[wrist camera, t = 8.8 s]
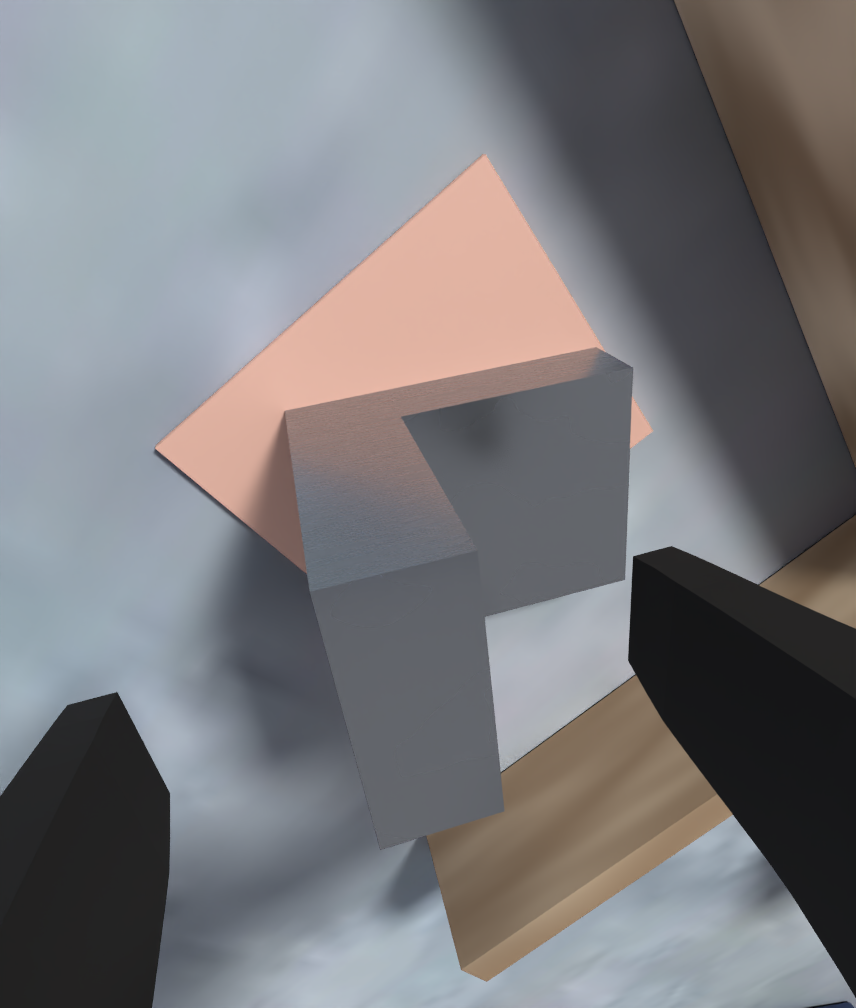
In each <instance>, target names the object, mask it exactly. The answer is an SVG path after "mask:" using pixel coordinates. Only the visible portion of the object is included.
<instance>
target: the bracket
mask: <svg viewBox="0 0 856 1008" xmlns="http://www.w3.org/2000/svg"><path fill="white" fill-rule="evenodd" d="M632 381H633V367H631V366H629V365H627V364H626V363H624V362H622V361H620V360H618V359H617V358H615V357H613V356H611V355H609V354H608V353H606V352H604V351H602V350H601V349H599V348H597V347H594V348H589V349H584V350H580V351H575V352H570V353H565V354H560V355H555V356H550V357H545V358H540V359H536V360H531V361H526V362H521V363H516V364H511V365H506V366H501V367H496V368H492V369H487V370H482V371H477V372H472V373H467V374H462V375H457V376H452V377H447V378H443V379H438V380H433V381H428V382H423V383H418V384H413V385H408V386H403V387H399V388H394V389H389V390H384V391H379V392H374V393H369V394H364V395H359V396H355V397H350V398H345V399H340V400H335V401H330V402H325V403H320V404H315V405H310V406H306V407H301V408H296V409H291V410H286V411H285V417H286V424H287V431H288V439H289V446H290V453H291V461H292V468H293V475H294V482H295V490H296V497H297V504H298V512H299V519H300V526H301V533H302V541H303V548H304V555H305V563H306V570H307V577H308V584H309V592H310V595H311V599H312V603H313V606H314V610H315V614H316V617H317V621H318V624H319V628H320V632H321V635H322V639H323V643H324V646H325V650H326V654H327V657H328V661H329V664H330V668H331V672H332V675H333V679H334V683H335V686H336V690H337V694H338V697H339V701H340V704H341V708H342V712H343V715H344V719H345V723H346V726H347V730H348V734H349V737H350V741H351V744H352V748H353V752H354V755H355V759H356V763H357V766H358V770H359V774H360V777H361V781H362V784H363V788H364V792H365V795H366V799H367V803H368V806H369V810H370V814H371V817H372V821H373V824H374V828H375V832H376V835H377V839H378V843H379V846H380V850H382V849H385V848H388V847H391V846H395V845H398V844H401V843H404V842H407V841H411V840H414V839H417V838H420V837H424V836H427V835H430V834H433V833H436V832H440V831H443V830H446V829H449V828H452V827H456V826H459V825H462V824H465V823H469V822H472V821H475V820H478V819H481V818H485V817H488V816H491V815H494V814H497V813H501V812H504V811H505V810H504V801H503V791H502V782H501V772H500V762H499V753H498V743H497V733H496V724H495V714H494V704H493V695H492V685H491V676H490V666H489V656H488V647H487V637H486V627H485V618H484V617H485V616H489V615H493V614H497V613H500V612H504V611H508V610H512V609H516V608H519V607H523V606H527V605H531V604H535V603H538V602H542V601H546V600H550V599H554V598H557V597H561V596H565V595H569V594H573V593H576V592H580V591H584V590H588V589H592V588H595V587H599V586H603V585H607V584H611V583H614V582H618V581H622V580H625V566H626V539H627V513H628V487H629V460H630V434H631V407H632Z"/></svg>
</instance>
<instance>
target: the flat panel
mask: <svg viewBox="0 0 856 1008" xmlns="http://www.w3.org/2000/svg"><path fill="white" fill-rule="evenodd" d="M594 347H597V348H599V349H601V350H602V351H604V349H603V347H602V346H601V344H600V342H599V341H598V339H597V337H596V336H595V334H594V332H593V331H592V329H591V327H590V326H589V324H588V322H587V321H586V319H585V318H584V316H583V314H582V313H581V311H580V309H579V308H578V306H577V304H576V303H575V301H574V299H573V298H572V296H571V294H570V293H569V291H568V289H567V288H566V286H565V285H564V283H563V281H562V280H561V278H560V276H559V275H558V273H557V271H556V270H555V268H554V266H553V265H552V263H551V261H550V260H549V258H548V256H547V255H546V253H545V252H544V250H543V248H542V247H541V245H540V243H539V242H538V240H537V238H536V237H535V235H534V233H533V232H532V230H531V228H530V227H529V225H528V223H527V222H526V220H525V219H524V217H523V215H522V214H521V212H520V210H519V209H518V207H517V205H516V204H515V202H514V200H513V199H512V197H511V195H510V194H509V192H508V190H507V189H506V187H505V186H504V184H503V182H502V181H501V179H500V177H499V176H498V174H497V172H496V171H495V169H494V167H493V166H492V164H491V162H490V161H489V159H488V157H487V156H486V154H483V155H481V156H480V157H479V158H478V159H477V160H476V161H475V162H474V163H472V164H471V165H470V166H469V167H468V168H467V169H466V170H465V171H463V172H462V173H461V174H460V175H459V176H458V177H457V178H456V179H455V180H453V181H452V182H451V183H450V184H449V185H448V186H447V187H446V188H444V189H443V190H442V191H441V192H440V193H439V194H438V195H437V196H435V197H434V198H433V199H432V200H431V201H430V202H429V203H428V204H426V205H425V206H424V207H423V208H422V209H421V210H420V211H419V212H417V213H416V214H415V215H414V216H413V217H412V218H411V219H410V220H408V221H407V222H406V223H405V224H404V225H403V226H402V227H401V228H399V229H398V230H397V231H396V232H395V233H394V234H393V235H392V236H390V237H389V238H388V239H387V240H386V241H385V242H384V243H383V244H381V245H380V246H379V247H378V248H377V249H376V250H375V251H374V252H372V253H371V254H370V255H369V256H368V257H367V258H366V259H365V260H363V261H362V262H361V263H360V264H359V265H358V266H357V267H356V268H354V269H353V270H352V271H351V272H350V273H349V274H348V275H347V276H345V277H344V278H343V279H342V280H341V281H340V282H339V283H338V284H336V285H335V286H334V287H333V288H332V289H331V290H330V291H329V292H327V293H326V294H325V295H324V296H323V297H322V298H321V299H320V300H318V301H317V302H316V303H315V304H314V305H313V306H312V307H311V308H310V309H308V310H307V311H306V312H305V313H304V314H303V315H302V316H301V317H299V318H298V319H297V320H296V321H295V322H294V323H293V324H292V325H290V326H289V327H288V328H287V329H286V330H285V331H284V332H283V333H281V334H280V335H279V336H278V337H277V338H276V339H275V340H274V341H272V342H271V343H270V344H269V345H268V346H267V347H266V348H265V349H263V350H262V351H261V352H260V353H259V354H258V355H257V356H256V357H254V358H253V359H252V360H251V361H250V362H249V363H248V364H247V365H245V366H244V367H243V368H242V369H241V370H240V371H239V372H238V373H236V374H235V375H234V376H233V377H232V378H231V379H230V380H229V381H227V382H226V383H225V384H224V385H223V386H222V387H221V388H220V389H218V390H217V391H216V392H215V393H214V394H213V395H212V396H211V397H209V398H208V399H207V400H206V401H205V402H204V403H203V404H202V405H200V406H199V407H198V408H197V409H196V410H195V411H194V412H193V413H191V414H190V415H189V416H188V417H187V418H186V419H185V420H184V421H182V422H181V423H180V424H179V425H178V426H177V427H176V428H175V429H173V430H172V431H171V432H170V433H169V434H168V435H167V436H166V437H165V438H163V439H162V440H161V441H160V442H159V443H158V444H157V445H156V447H155V449H156V450H158V451H159V452H160V453H161V454H162V455H164V456H165V457H166V458H167V459H168V460H170V461H171V462H172V463H173V464H174V465H176V466H177V467H178V468H179V469H180V470H182V471H183V472H184V473H185V474H186V475H188V476H189V477H190V478H191V479H193V480H194V481H195V482H196V483H197V484H199V485H200V486H201V487H202V488H203V489H205V490H206V491H207V492H208V493H209V494H211V495H212V496H213V497H214V498H215V499H217V500H218V501H219V502H220V503H221V504H223V505H224V506H225V507H226V508H227V509H229V510H230V511H231V512H232V513H234V514H235V515H236V516H237V517H238V518H240V519H241V520H242V521H243V522H244V523H246V524H247V525H248V526H249V527H250V528H252V529H253V530H254V531H255V532H256V533H258V534H259V535H260V536H261V537H262V538H264V539H265V540H266V541H267V542H268V543H270V544H271V545H272V546H273V547H275V548H276V549H277V550H278V551H279V552H281V553H282V554H283V555H284V556H285V557H287V558H288V559H289V560H290V561H291V562H293V563H294V564H295V565H296V566H297V567H299V568H300V569H301V570H302V571H303V572H305V573H306V574H307V570H306V563H305V555H304V548H303V541H302V533H301V526H300V519H299V512H298V504H297V497H296V490H295V482H294V475H293V468H292V461H291V453H290V446H289V439H288V431H287V424H286V417H285V411H286V410H291V409H296V408H301V407H306V406H310V405H315V404H320V403H325V402H330V401H335V400H340V399H345V398H350V397H355V396H359V395H364V394H369V393H374V392H379V391H384V390H389V389H394V388H399V387H403V386H408V385H413V384H418V383H423V382H428V381H433V380H438V379H443V378H447V377H452V376H457V375H462V374H467V373H472V372H477V371H482V370H487V369H492V368H496V367H501V366H506V365H511V364H516V363H521V362H526V361H531V360H536V359H540V358H545V357H550V356H555V355H560V354H565V353H570V352H575V351H580V350H584V349H589V348H594ZM604 352H605V351H604ZM652 431H653V430H652V428H651V426H650V425H649V423H648V421H647V420H646V418H645V417H644V415H643V413H642V412H641V410H640V408H639V407H638V405H637V403H636V402H635V400H634V398H633V397H632V407H631V434H630V449H631V448H632V447H633V446H635V445H636V444H637V443H638V442H640V441H641V440H642V439H643V438H645V437H646V436H647V435H649V434H650V433H651V432H652Z"/></svg>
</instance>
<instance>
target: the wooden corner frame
mask: <svg viewBox="0 0 856 1008" xmlns="http://www.w3.org/2000/svg"><path fill="white" fill-rule="evenodd" d="M674 2H675V4H676V7H677V9H678V12H679V14H680V17H681V20H682V22H683V25H684V27H685V30H686V32H687V35H688V38H689V40H690V43H691V45H692V48H693V50H694V53H695V56H696V58H697V61H698V63H699V66H700V68H701V71H702V74H703V76H704V79H705V81H706V84H707V86H708V89H709V92H710V94H711V97H712V99H713V102H714V104H715V107H716V110H717V112H718V115H719V117H720V120H721V122H722V125H723V128H724V130H725V133H726V135H727V138H728V140H729V143H730V146H731V148H732V151H733V153H734V156H735V158H736V161H737V164H738V166H739V169H740V171H741V174H742V176H743V179H744V182H745V184H746V187H747V189H748V192H749V194H750V197H751V200H752V202H753V205H754V207H755V210H756V212H757V215H758V218H759V220H760V223H761V225H762V228H763V230H764V233H765V236H766V238H767V241H768V243H769V246H770V248H771V251H772V254H773V256H774V259H775V261H776V264H777V267H778V269H779V272H780V274H781V277H782V279H783V282H784V285H785V287H786V290H787V292H788V295H789V297H790V300H791V303H792V305H793V308H794V310H795V313H796V315H797V318H798V321H799V323H800V326H801V328H802V331H803V333H804V336H805V339H806V341H807V344H808V346H809V349H810V351H811V354H812V357H813V359H814V362H815V364H816V367H817V369H818V372H819V375H820V377H821V380H822V382H823V385H824V387H825V390H826V393H827V395H828V398H829V400H830V403H831V405H832V408H833V411H834V413H835V416H836V418H837V421H838V423H839V426H840V429H841V431H842V434H843V436H844V439H845V441H846V444H847V447H848V449H849V452H850V454H851V457H852V459H853V462H854V465H855V467H856V0H674ZM759 586H761V587H764V588H766V589H768V590H770V591H772V592H774V593H777V594H779V595H781V596H783V597H785V598H787V599H790V600H792V601H794V602H796V603H798V604H801V605H803V606H805V607H807V608H810V609H812V610H814V611H816V612H819V613H821V614H823V615H825V616H828V617H830V618H832V619H834V620H837V621H839V622H841V623H844V624H846V625H848V626H851V627H853V628H855V629H856V515H855V516H853V517H852V518H851V519H849V520H848V521H847V522H845V523H844V524H842V525H841V526H840V527H838V528H837V529H836V530H834V531H833V532H831V533H830V534H829V535H827V536H826V537H825V538H823V539H822V540H820V541H819V542H818V543H816V544H815V545H814V546H812V547H811V548H809V549H808V550H807V551H805V552H804V553H803V554H801V555H800V556H799V557H797V558H796V559H794V560H793V561H792V562H790V563H789V564H788V565H786V566H785V567H783V568H782V569H781V570H779V571H778V572H777V573H775V574H774V575H772V576H771V577H770V578H768V579H767V580H766V581H764V582H763V583H761V584H760V585H759ZM501 782H502V791H503V801H504V810H505V811H504V812H501V813H497V814H494V815H491V816H488V817H485V818H481V819H478V820H475V821H472V822H469V823H465V824H462V825H459V826H456V827H452V828H449V829H446V830H443V831H440V832H436V833H433V834H430V835H427V840H428V844H429V848H430V852H431V856H432V860H433V863H434V867H435V871H436V875H437V879H438V883H439V887H440V890H441V894H442V898H443V902H444V906H445V910H446V914H447V917H448V921H449V925H450V929H451V933H452V937H453V941H454V944H455V948H456V952H457V956H458V960H459V964H460V967H461V970H462V971H465V972H467V973H469V974H471V975H473V976H476V977H478V978H480V979H482V980H484V981H486V982H487V981H489V980H490V979H491V978H493V977H494V976H496V975H497V974H499V973H500V972H502V971H503V970H505V969H506V968H508V967H509V966H511V965H512V964H514V963H515V962H517V961H518V960H519V959H521V958H522V957H524V956H525V955H527V954H528V953H530V952H531V951H533V950H534V949H536V948H537V947H539V946H540V945H542V944H543V943H544V942H546V941H547V940H549V939H550V938H552V937H553V936H555V935H556V934H558V933H559V932H561V931H562V930H564V929H565V928H567V927H568V926H570V925H571V924H572V923H574V922H575V921H577V920H578V919H580V918H581V917H583V916H584V915H586V914H587V913H589V912H590V911H592V910H593V909H595V908H596V907H598V906H599V905H600V904H602V903H603V902H605V901H606V900H608V899H609V898H611V897H612V896H614V895H615V894H617V893H618V892H620V891H621V890H623V889H624V888H626V887H627V886H628V885H630V884H631V883H633V882H634V881H636V880H637V879H639V878H640V877H642V876H643V875H645V874H646V873H648V872H649V871H651V870H652V869H653V868H655V867H656V866H658V865H659V864H661V863H662V862H664V861H665V860H667V859H668V858H670V857H671V856H673V855H674V854H676V853H677V852H679V851H680V850H681V849H683V848H684V847H686V846H687V845H689V844H690V843H692V842H693V841H695V840H696V839H698V838H699V837H701V836H702V835H704V834H705V833H707V832H708V831H709V830H711V829H712V828H714V827H715V826H717V825H718V824H720V823H721V822H723V821H724V820H726V819H727V818H729V817H730V816H732V815H733V814H732V813H731V811H730V810H729V809H728V807H727V806H726V805H725V803H724V802H723V801H722V800H721V798H720V797H719V796H718V794H717V793H716V792H715V790H714V789H713V788H712V786H711V785H710V784H709V782H708V781H707V780H706V778H705V777H704V776H703V774H702V773H701V772H700V770H699V769H698V768H697V766H696V765H695V764H694V762H693V761H692V760H691V758H690V757H689V756H688V754H687V753H686V752H685V750H684V749H683V748H682V746H681V745H680V744H679V742H678V741H677V740H676V738H675V737H674V736H673V734H672V733H671V731H670V730H669V729H668V727H667V726H666V725H665V723H664V722H663V720H662V719H661V717H660V715H659V714H658V712H657V710H656V709H655V707H654V705H653V704H652V702H651V700H650V698H649V697H648V695H647V693H646V692H645V690H644V688H643V686H642V684H641V683H640V681H639V679H638V677H637V675H635V676H634V677H633V678H631V679H630V680H628V681H627V682H626V683H624V684H623V685H622V686H620V687H619V688H617V689H616V690H615V691H613V692H612V693H611V694H609V695H608V696H607V697H605V698H604V699H602V700H601V701H600V702H598V703H597V704H596V705H594V706H593V707H591V708H590V709H589V710H587V711H586V712H585V713H583V714H582V715H580V716H579V717H578V718H576V719H575V720H574V721H572V722H571V723H569V724H568V725H567V726H565V727H564V728H563V729H561V730H560V731H559V732H557V733H556V734H554V735H553V736H552V737H550V738H549V739H548V740H546V741H545V742H543V743H542V744H541V745H539V746H538V747H537V748H535V749H534V750H532V751H531V752H530V753H528V754H527V755H526V756H524V757H523V758H521V759H520V760H519V761H517V762H516V763H515V764H513V765H512V766H510V767H509V768H508V769H506V770H505V771H504V772H502V773H501Z"/></svg>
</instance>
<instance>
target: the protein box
mask: <svg viewBox="0 0 856 1008" xmlns="http://www.w3.org/2000/svg"><path fill="white" fill-rule="evenodd" d="M816 1008H854V1007H853V1005H852V1004H851V1003H850V1002H845V1003H840V1004H833V1005H827V1006H821V1007H816Z"/></svg>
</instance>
